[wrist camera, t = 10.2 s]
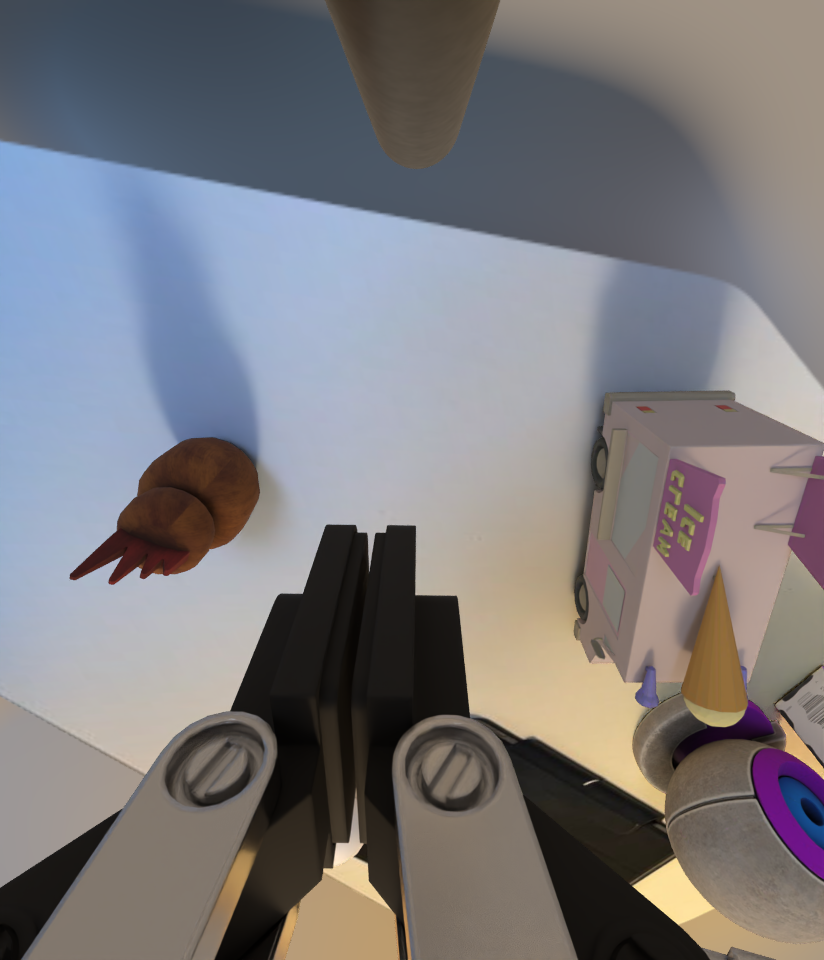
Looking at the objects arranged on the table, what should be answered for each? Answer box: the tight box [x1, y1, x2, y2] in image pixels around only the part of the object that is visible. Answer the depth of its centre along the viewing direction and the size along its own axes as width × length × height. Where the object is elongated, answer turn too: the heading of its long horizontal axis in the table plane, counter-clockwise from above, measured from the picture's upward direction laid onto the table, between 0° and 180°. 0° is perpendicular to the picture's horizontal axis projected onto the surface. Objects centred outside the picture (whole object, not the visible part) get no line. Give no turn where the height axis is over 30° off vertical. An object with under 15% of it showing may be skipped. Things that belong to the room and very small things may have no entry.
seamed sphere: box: [333, 793, 363, 866], centre depth 48 cm, size 10×7×7 cm
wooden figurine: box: [70, 437, 260, 585], centre depth 31 cm, size 7×6×15 cm
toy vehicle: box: [574, 391, 824, 727], centre depth 32 cm, size 9×20×15 cm, turn 1°
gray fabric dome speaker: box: [633, 693, 824, 944], centre depth 41 cm, size 13×13×15 cm
